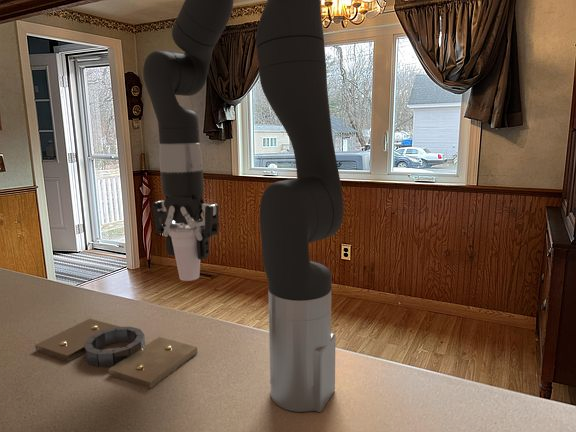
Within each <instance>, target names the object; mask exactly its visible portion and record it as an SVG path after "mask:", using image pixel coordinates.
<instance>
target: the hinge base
mask: <svg viewBox="0 0 576 432" xmlns="http://www.w3.org/2000/svg"><path fill="white" fill-rule="evenodd" d="M144 333H145V332H143V331H142V329H141V328H136V327H134V326H119V325H115V324H112V323H107V322H104V321H99V320H97V319H96V320H95V319H94V318H93V319H92V318H88V319H86V320H84V321H82V322H80V323H77V324H76V325H74V326H72V327H69V328H67V329H65V330H63V331H61V332H59V333H57V334H55V335H52V336H51V337H49V338H45V340H42V341H39V343H36V344H35V345H34V347H35V352H38V353H42V354H44V355H48V356H50V357H53V358H57V359H59V360H63V361H66V362H68V363H69V362H71V361H72V360H74V359H77V358H78V357H80V356H82V355H83V354H84V356H85V357H84V358H85V360H86V363H87V364H88V365H91V366H94V367H96V368H108V376H110V377H113V378H116V379H119V380H122V381H124V382H128V383H131V384H133V385H136V386H140V387H143V388H145V389H149V390H151V389H153V388H154V387H155V386H156V385H158V384H159V383H160V382H162V381H163V380H165V378H167V377H168V376H170V375H171V374H172V373H174V371H176V370H178V368H180V367H182V365H184V364H185V363H186V362H187V361H189V360H190V359H191V358H193V357H194V356H195V355H197V354H198V346H195V345H192V344H187V343H184V342H180V341H176V340H172V339H168V338H164V337H161V336H158V337H157V338H155V339H154V340H152V341H150V342H149V343H148V344H146V340H145V334H144ZM118 342H121V343H123V342H129V344H127V345H126V346H123V347H119V348H115V349H105V350H104V349H103V350H102V348H103V347H104V346H105V347H106V346H108V345H110V344H114V343H118Z"/></svg>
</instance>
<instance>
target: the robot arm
mask: <svg viewBox="0 0 576 432" xmlns="http://www.w3.org/2000/svg"><path fill="white" fill-rule="evenodd" d="M234 3H235V1H234V0H184V2H183V4H182V6H181V8H180V11H179V13H178V15H177V17H176V19H175V21H174V23H173V27H172V29H171V37H172V39H173V42H174V43H175V45H176V46H177V47H178V48H179V49H180V50H182V51H183V53H179V52H178V53H177V52H171V51H164V50H154V51H152V52H150V53H149V54H148V55H147V57H146V58H145V60H144V63H143V67H142V75H143V76H142V77H143V80H144V85H145V88H146V90H147V91H146V92H147V93H148V96H149V99H150V102H151V104H152V108H153V111H154V114H155V116H156V119H157V128H158V138H159V153H158V154H159V157H158V158H159V168H160V169H159V170H160V183H161V184H160V185H161V193H162V195H163V196H165V197H164V200H156V201H153V202H152V203H151V209H152V210H151V211H152V215H153V221H154V227H155V232H156V233H158V234H159V233H160V234H162V235H163V236H164V237H165V244H166V252H167V253H168V254H167V255H168V256H171V257H174V256H175V253H174V249H173V244H172V239H171V236H169V229H171V228H173V227H176V226H177V227H178V226H181V224H182V223H184V224H185V225H189V227H190V229H191V230H193V231H194V233H195V235H196V237H197V239H198V240H197V254H198V259H200V261H202V260H203V261H204V260H205V259H208V256H209V255H210V238H212V237H214V236H217V235H218V233H219V213H220V212H219V208H220V207H219V205H218V203H212V204H211V203H206V202H205V201H204V198H203V194H204V193H205V185H204V169H203V155H202V150H201V144H200V127H199V117H198V114H197V113H196V112H195V111H193V110H191V109H189V108H186V107H183V106H181V105H180V102H178V99H177V97H176V96H183V97H184V96H187V97H190V96H194V95H197V94H198V93H199V92H200V91H202V89H203V88H204V87H205V85H206V82H207V80H208V79H207V78H208V73H209V70H210V64H211V62H212V61H211V60H212V56H213V55H212V54H213V51H214V48H215V46H216V44H218V41H219V40H220V38H221V36H222V34H223V32H224V30H225V29H226V26H227V24H228V23H229V21H230V18H231V15H232V13H233V8H234ZM321 6H322V3H321V0H267V1H266V3H265V6H264V8H263V10H262V13H261V16H260V18H259V21H258V24H257V25H258V26H257V29H256V35H255V36H256V37H255V44H256V53H257V63H258V65H257V66H258V74H259V80H260V85H261V89H262V91H263V94H264V96H265V98H266V100H267V102H268V104H269V106H270V107H271V109H272V111H273V112H274V114H275V116H276V117H277V119H278V121H279V122H280V124H281V125H282V127H283V128H284V130H285V132H286V134H287V135H288V139H289V140H290V143H291V147H292V150H293V154H294V159H295V160H294V161H295V167H296V168H295V169H296V178H293V179H285V180H278V181H275V182H272V183H270V184H269V185H267V187H266V188H265V190H264V191H263V194H262V195H261V199H260V203H259V204H260V205H259V228H260V229H259V230H260V239H261V241H260V242H261V251H262V252H261V254H262V262H263V268H264V273H265V275H266V278H267V286H268V288H267V289H268V297H267V298H268V330H269V331H268V335H269V336H268V337H269V339H268V340H269V341H268V342H269V372H270V373H269V377H270V379H269V384H270V397H271V400H273V402H274V403H275V404H276V405H277V406H278V407H280V408H282V409H284V410H287V411H291V412H298V413H299V412H303V413H304V412H305V413H306V412H311V411H315V412H318V413H321V412H323V410H324V408H325V407H326V405H327V404H328V402H329V400H330V398H331V397H332V396H333V394H334V392H335V389H336V341H337V340H336V334H335V333H334V332H332V287H333V286H332V284H333V283H332V282H333V281H332V279H333V278H332V272H331V270H330V268H328V267H327V266H326V265H323V264H322V263H319V262H315V261H312V260H310V252H309V251H310V250H309V244H311V243H314V242H318V241H322V240H325V239H328V238H331V237H332V236H334V235H336V233H337V232H338V231H339V230H340V228H341V226H342V223H343V219H344V209H345V207H344V195H343V189H342V185H341V184H342V183H341V178H340V173H339V167H338V161H337V155H336V152H335V151H336V150H335V145H334V139H333V130H332V129H333V128H332V122H331V113H330V111H331V110H330V102H329V94H328V81H327V79H328V78H327V77H328V76H327V74H328V73H327V62H326V60H327V59H326V47H325V37H324V29H323V28H324V27H323V21H322V19H323V18H322V7H321ZM200 229H202V230H200Z"/></svg>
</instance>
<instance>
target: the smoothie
mask: <svg viewBox="0 0 576 432" xmlns="http://www.w3.org/2000/svg"><path fill="white" fill-rule="evenodd" d="M181 224H182V225H179V226H178V227H177V226H176V227H173V228H171V229H169V236H171V239H172V244H173V249H174V253H175V255H174V256H175V257H174V258H175V263H176V267H177V272H178V277H179V280H180V281H183V282H184V281H185V282H192V281H196V280H198V279H199V278H200V273H201V272H200V271H201V260H200V259H198V254H197V240H198V239H197V237H196V235H195V233H194V231H193V230H191V229H190V227H189V225H188V224H184V223H181ZM200 230H202V229H200Z"/></svg>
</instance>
